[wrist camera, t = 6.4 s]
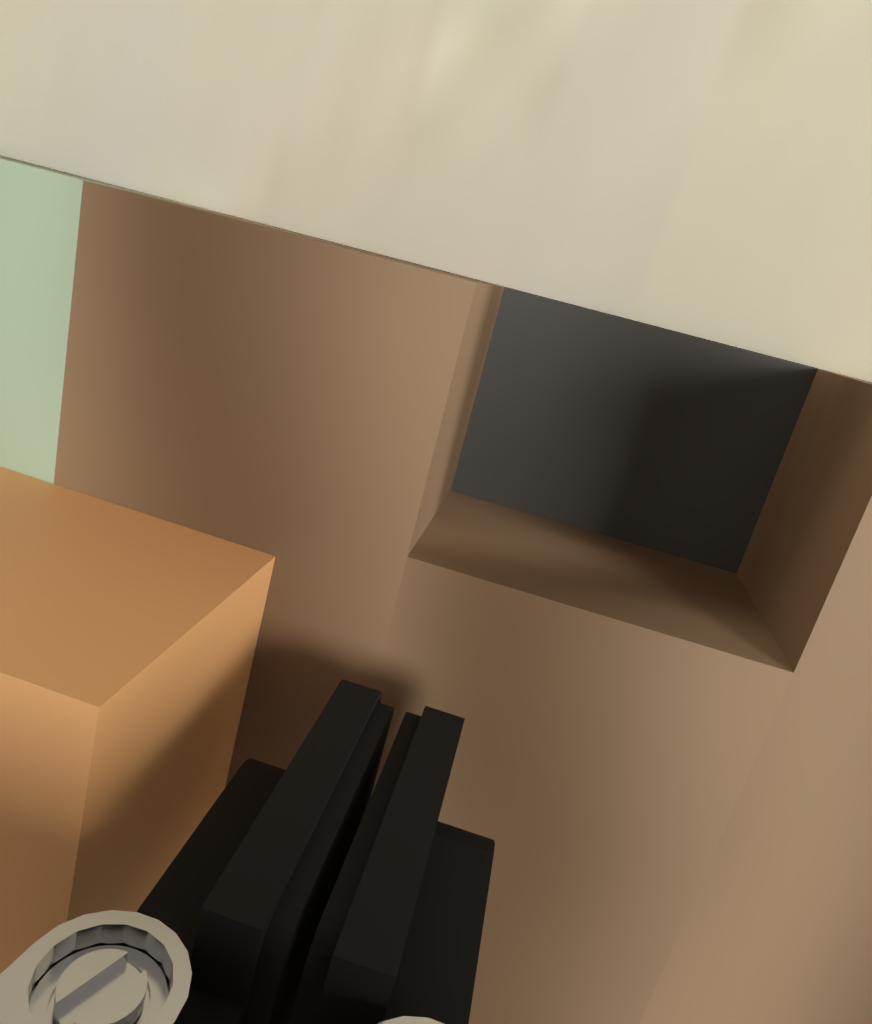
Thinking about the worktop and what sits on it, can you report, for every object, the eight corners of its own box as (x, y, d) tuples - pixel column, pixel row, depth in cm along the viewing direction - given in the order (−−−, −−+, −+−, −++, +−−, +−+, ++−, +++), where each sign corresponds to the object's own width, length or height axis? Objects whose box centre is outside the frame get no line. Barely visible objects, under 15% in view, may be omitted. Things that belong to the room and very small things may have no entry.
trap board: (1350, 507, 11) (1733, 610, 8) (961, 1111, 15) (1087, 1378, 12) (-136, 120, 14) (-404, 54, 10) (-145, 725, 18) (-341, 841, 14)
